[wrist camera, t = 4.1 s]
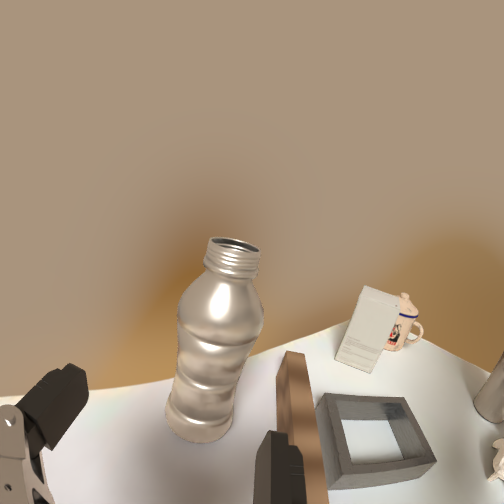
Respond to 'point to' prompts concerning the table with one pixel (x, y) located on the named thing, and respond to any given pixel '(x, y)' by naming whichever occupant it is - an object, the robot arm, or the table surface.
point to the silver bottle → (214, 340)
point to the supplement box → (368, 329)
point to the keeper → (370, 408)
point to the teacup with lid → (403, 325)
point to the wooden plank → (301, 422)
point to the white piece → (498, 461)
